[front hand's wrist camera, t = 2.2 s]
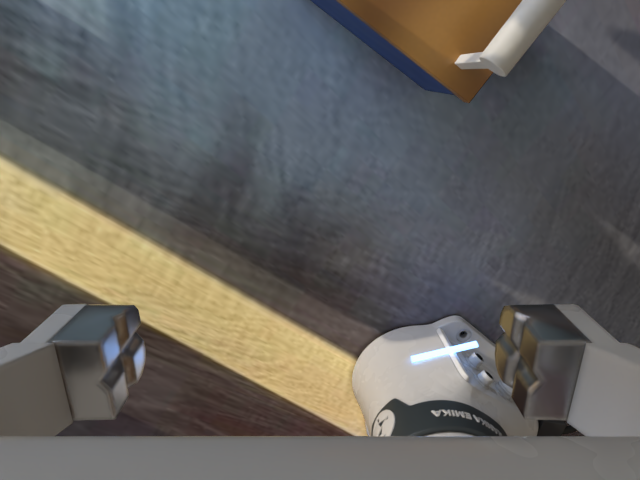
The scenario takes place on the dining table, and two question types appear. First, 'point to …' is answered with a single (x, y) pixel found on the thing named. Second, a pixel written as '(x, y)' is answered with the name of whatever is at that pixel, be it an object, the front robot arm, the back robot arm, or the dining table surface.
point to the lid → (458, 35)
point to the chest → (380, 45)
